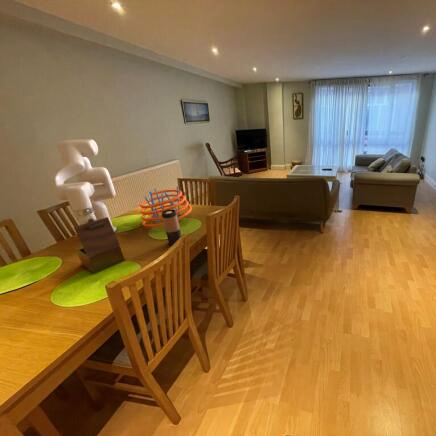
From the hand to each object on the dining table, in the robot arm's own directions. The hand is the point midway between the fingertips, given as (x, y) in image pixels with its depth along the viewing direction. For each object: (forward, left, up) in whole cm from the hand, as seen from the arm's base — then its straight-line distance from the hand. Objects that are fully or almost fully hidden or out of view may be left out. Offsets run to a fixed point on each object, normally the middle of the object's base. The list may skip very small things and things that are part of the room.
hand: (96, 244), depth 122 cm
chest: (+1, 0, -10) cm, 10 cm away
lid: (+6, 0, +6) cm, 9 cm away
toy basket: (-23, +52, -11) cm, 58 cm away
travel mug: (+14, +33, -11) cm, 37 cm away
